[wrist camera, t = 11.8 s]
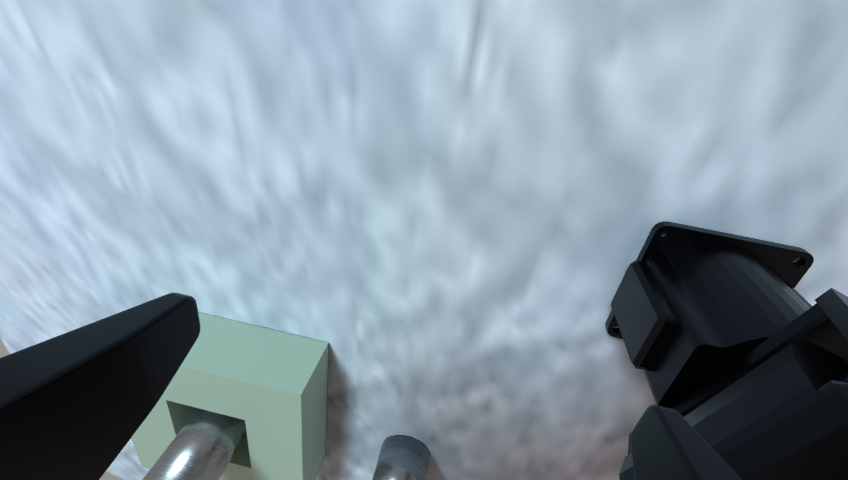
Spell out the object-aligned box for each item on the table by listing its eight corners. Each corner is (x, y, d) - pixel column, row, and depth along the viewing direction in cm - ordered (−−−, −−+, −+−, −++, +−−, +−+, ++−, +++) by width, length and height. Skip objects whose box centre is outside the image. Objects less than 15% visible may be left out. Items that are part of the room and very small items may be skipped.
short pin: (433, 442, 28) (423, 501, 25) (426, 470, 30) (415, 529, 27) (384, 430, 29) (368, 487, 25) (380, 458, 30) (364, 515, 27)
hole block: (328, 342, 25) (301, 394, 22) (325, 455, 31) (303, 509, 28) (149, 300, 26) (96, 344, 23) (180, 417, 32) (142, 466, 29)
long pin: (269, 373, 28) (191, 493, 21) (271, 406, 30) (201, 527, 23) (220, 362, 28) (129, 476, 21) (226, 395, 30) (143, 510, 23)
